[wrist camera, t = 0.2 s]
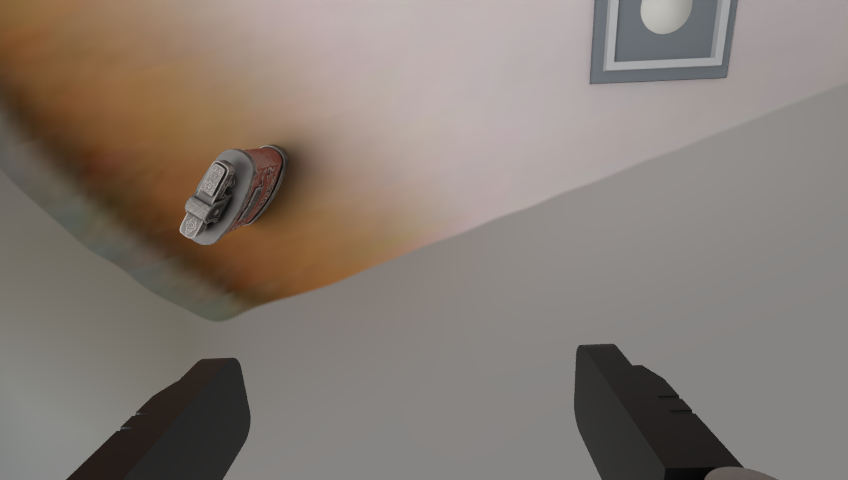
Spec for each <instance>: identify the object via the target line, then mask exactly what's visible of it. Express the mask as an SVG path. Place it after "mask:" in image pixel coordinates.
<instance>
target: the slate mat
mask: <svg viewBox="0 0 848 480" xmlns="http://www.w3.org/2000/svg"><path fill="white" fill-rule="evenodd" d="M736 6H737V0H595V6H594V22H593V38H592V54H591V70H590V84H598V83H620V82H643V81H665V80H687V79H710V78H725V77H726V75H727V68H728V61H729V54H730V47H731V40H732V33H733V26H734V20H735V13H736Z"/></svg>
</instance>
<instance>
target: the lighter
mask: <svg viewBox="0 0 848 480" xmlns="http://www.w3.org/2000/svg"><path fill="white" fill-rule="evenodd" d="M287 165H288V158H287V155H286V154H285V152H284V151H283V150H282V149H281V148H279V147H277V146H274V145H266V146H262V147H260V148H259V149H251V150H241V149H229V150H225V151H223V152H222V153H221V154H220V155H219V156H218V158H217V159H216V160H215V161H214V162H213V164H212V165H211V166H210V167H209V169H208V170H207V172H206V173H205V175H204V177H203V178H202V180H201V181H200V183H199V185H198V186H197V189H196V191H195V193H194V194H193V195H192V196H191V197H190V198H189V199H188V201H187V203H186V205H185V210H186V212H187V215H186V216H185V218H184V220H183V222H182V224H181V227H180V232H181V233H182V234H183V235H184V236H186V237H188V238H191V239H192V240H194V241H195V242H197V243H199V244H202V245H210V244H213V243H215V242H217V241H218V240H220V239H221V238H222V237H223V235H225V234H227V233H229V232H231V231H233V230H235V229H237V228H239V227H241V226H243V225H249V224H251V223H253V222H255V221H256V220H257V219H258V218H259V217H260V216H261V214H262V213H263V212H264V211H265V210H266V209H267V207H268V206H269V204H270V203H271V201H272V200H273V198H274V197H275V195H276V193H277V191H278V189H279V187H280V185H281V183H282V180H283V177H284V174H285V171H286V168H287Z"/></svg>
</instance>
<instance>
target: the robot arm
mask: <svg viewBox="0 0 848 480" xmlns="http://www.w3.org/2000/svg"><path fill="white" fill-rule="evenodd" d="M574 410H575V417H576V422H577V426H578V429H579V432H580V434H581V436H582V438H583V441H584V442H585V445H586V447H587V449H588V451H589V453H590V455H591V458H592V460H593V462H594V464H595V466H596V468H597V470H598V473H599V475H600V477H601V479H602V480H778V479H776V478H774V477H771V476H769V475H766V474H764V473H761V472H758V471H754V470H751V469H746V468H744V467H743V466H742V465H741V464H740V463H739V462H738V461H737V459H736V458H735V457H734V456H733V455H732V454H731V453H730V452H729V451H728V449H727V448H725V446H724V445H723V444H722V443H721V442H720V441H719V440H718V438H717V437H716V436H715V435H714V434H713V433H712V432H711V431H710V430H709V428H708V427H707V426H706V425H705V424H704V423H703V422H702V421H701V420H700V418H698V416H697V415H696V414H693V413H692V410H691V408H690V407H689V406H688V405H687V404H686V403H685V402H684V401H683V400H682V399H679V395H678V394H677V393H676V392H675V391H674V390H673V388H672V387H671V386H670V385H669V384H668V383H667V382H666V381H665V380H664V379H663V378H662V377H660V376H658V375H657V374H655V373H654V372H652V371H650V370H649V369H647V368H645V367H644V366H642V365H634V366H632V365H631V363H630V362H629V361H628V360H627V359H626V357H625V356H624V355H623V354H622V352H621V351H620V350H619V349H618V347H617V346H616V345H614V344H595V345H579V347H578V349H577V353H576V372H575V394H574ZM249 428H250V410H249V405H248V401H247V395H246V390H245V385H244V380H243V375H242V370H241V366H240V363H239V362H238V360H237V359H235V358H217V359H202V360H200V361H198V362H197V363H196V364H195V365H194V366H193V367H192V368H191V369H190V370H189V371H188V372H187V373H186V374H185V375H184V376H183V377H182V378H181V379H180V380H179V381H177V382H175V383H174V384H172V385H170V386H169V387H167V388H165V389H164V390H162V391H160V392H159V393H157V394H156V395H154V396H153V397H152V398H151V399H150V400H149V401H147V402H146V403H145V404H144V405H143V406H142V407H141V408H140V409H139V410H138V411H137V412H136V415H135V416H132V417H131V418H130V419H129V420H128V421H127V422H126V423H125V424H124V425H123V426H121V430H120V431H116V433H114V434H113V435H112V436H111V437H110V438H109V439H108V440H107V441H106V442H105V443H104V444H103V445H102V446H101V447H100V448H99V449H98V450H97V451H95V453H93V454H92V455H91V456H90V457H89V458H88V459H87V460H86V461H85V462H84V463H83V464H82V465H81V466H80V467H79V468H78V469H77V470H76V471H75V472H74V473H73V474H72V475H71V476H70V477H68V479H66V480H223V478H224V476H225V475H226V473H227V471H228V470H229V468H230V466H231V465H232V463H233V461H234V460H235V458H236V456H237V455H238V453H239V451H240V450H241V448H242V446H243V445H244V443H245V441H246V439H247V436H248V433H249Z"/></svg>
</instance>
